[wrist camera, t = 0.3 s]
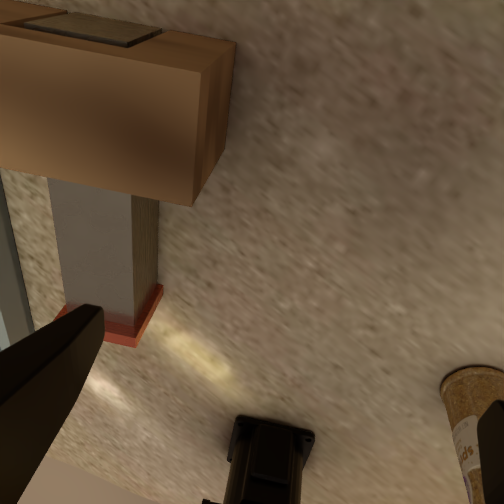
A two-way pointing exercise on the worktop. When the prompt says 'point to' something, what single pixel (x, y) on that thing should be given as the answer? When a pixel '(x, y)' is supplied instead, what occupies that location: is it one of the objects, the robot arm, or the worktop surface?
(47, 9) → the block
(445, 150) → the worktop surface
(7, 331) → the tray
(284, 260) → the worktop surface
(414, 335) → the worktop surface
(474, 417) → the spice jar
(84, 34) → the red capped grey bar
